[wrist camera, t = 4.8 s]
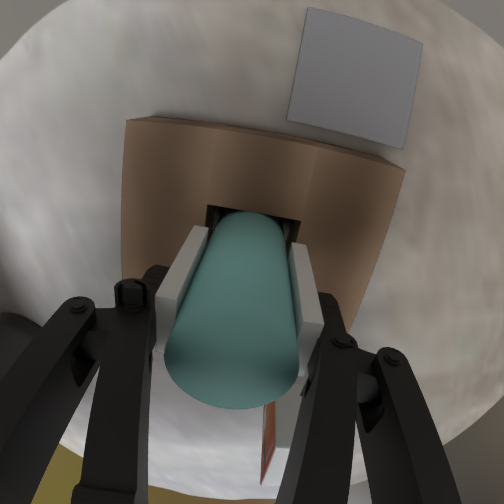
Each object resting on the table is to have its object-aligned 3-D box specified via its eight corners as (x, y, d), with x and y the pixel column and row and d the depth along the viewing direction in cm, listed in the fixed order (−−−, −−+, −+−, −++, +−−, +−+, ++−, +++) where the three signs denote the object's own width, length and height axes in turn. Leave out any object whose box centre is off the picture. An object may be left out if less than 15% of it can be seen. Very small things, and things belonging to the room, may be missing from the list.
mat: (286, 119, 19) (287, 120, 19) (307, 9, 16) (308, 6, 15) (399, 148, 20) (402, 149, 19) (419, 44, 16) (422, 43, 15)
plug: (214, 253, 23) (164, 396, 11) (222, 193, 21) (165, 299, 9) (275, 264, 23) (282, 415, 11) (288, 204, 21) (316, 324, 9)
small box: (274, 343, 27) (274, 446, 18) (335, 348, 27) (355, 447, 18) (262, 397, 31) (258, 487, 21) (314, 401, 31) (322, 488, 21)
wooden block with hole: (142, 290, 26) (124, 319, 22) (150, 116, 20) (126, 120, 16) (330, 323, 26) (337, 355, 22) (383, 158, 20) (405, 170, 16)
